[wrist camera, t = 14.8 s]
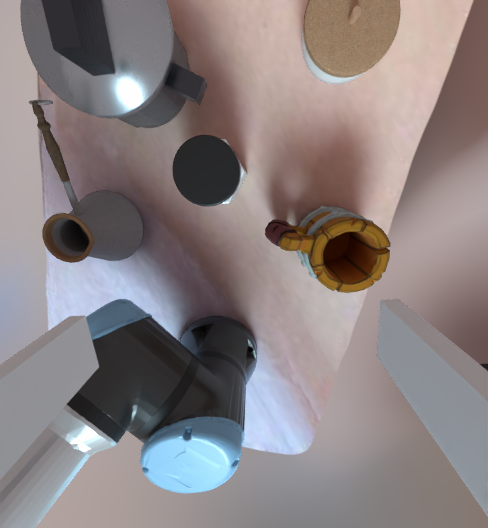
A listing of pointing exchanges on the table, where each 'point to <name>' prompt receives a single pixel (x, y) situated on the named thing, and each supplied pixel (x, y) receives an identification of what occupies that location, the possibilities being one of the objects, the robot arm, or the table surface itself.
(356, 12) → the lidded jar
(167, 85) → the pot
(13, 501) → the robot arm
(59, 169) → the coffee pot
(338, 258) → the mug
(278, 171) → the table surface
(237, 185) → the jar
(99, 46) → the lid
